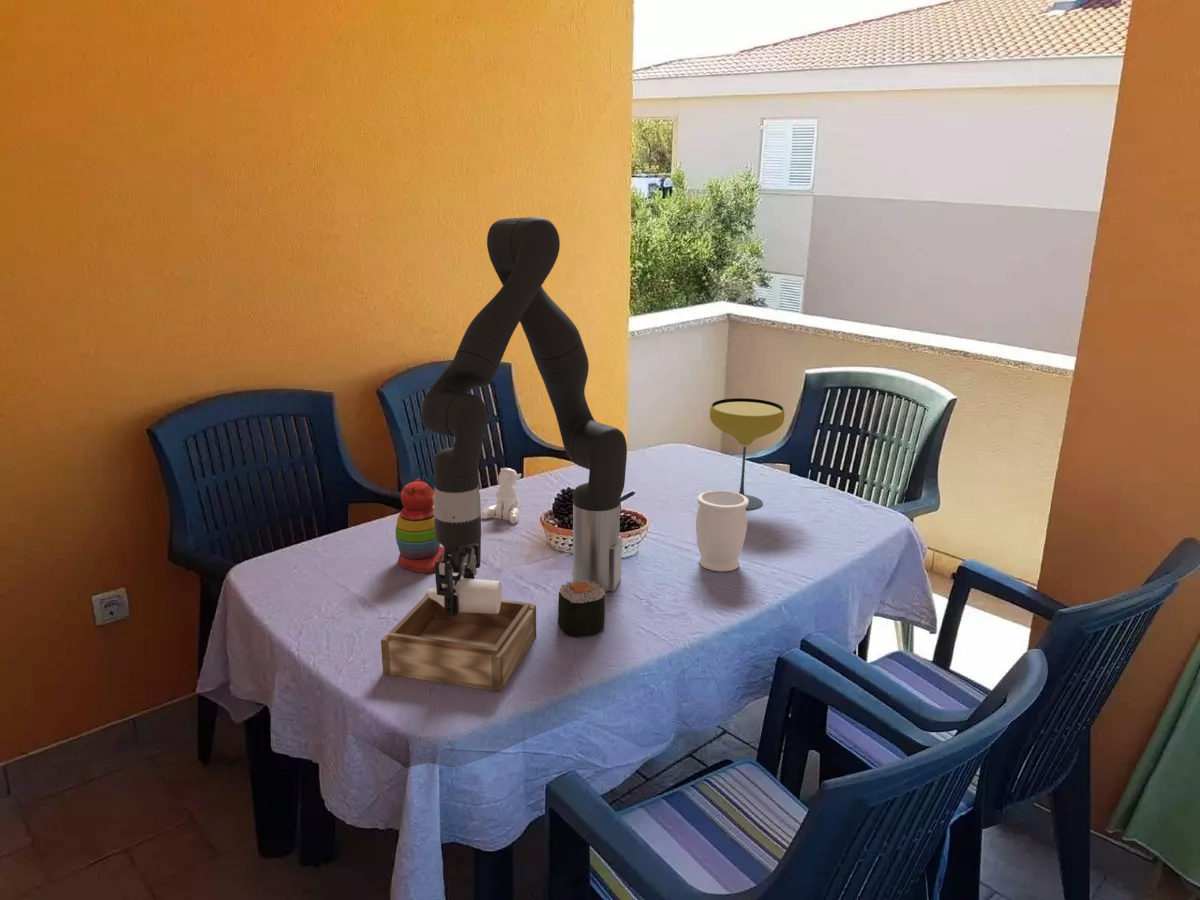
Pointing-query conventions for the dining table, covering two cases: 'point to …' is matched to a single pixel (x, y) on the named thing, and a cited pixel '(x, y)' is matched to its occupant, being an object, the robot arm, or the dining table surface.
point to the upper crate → (459, 627)
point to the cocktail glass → (747, 426)
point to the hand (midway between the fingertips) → (460, 604)
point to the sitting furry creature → (505, 498)
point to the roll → (475, 596)
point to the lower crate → (460, 659)
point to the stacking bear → (417, 529)
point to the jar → (721, 529)
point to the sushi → (581, 608)
